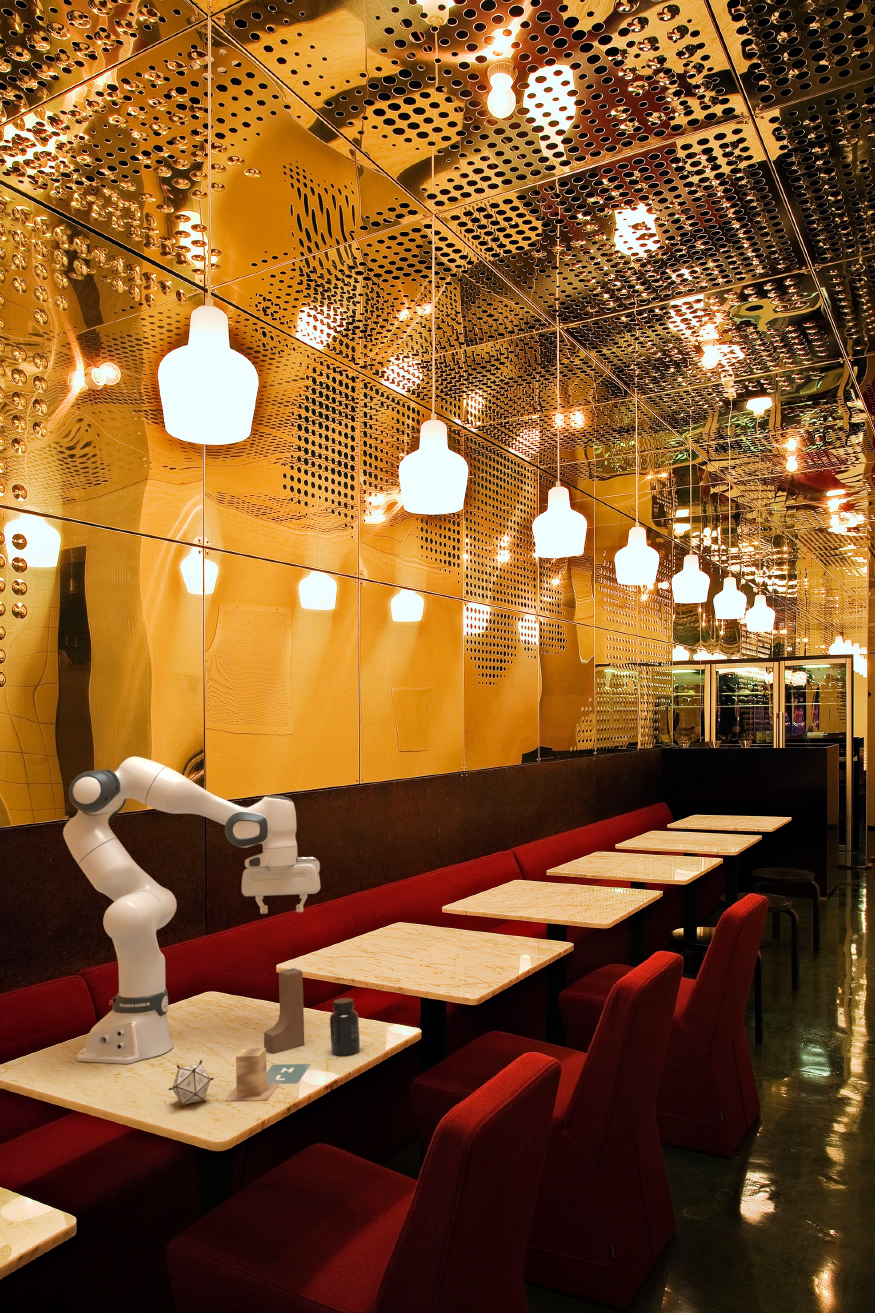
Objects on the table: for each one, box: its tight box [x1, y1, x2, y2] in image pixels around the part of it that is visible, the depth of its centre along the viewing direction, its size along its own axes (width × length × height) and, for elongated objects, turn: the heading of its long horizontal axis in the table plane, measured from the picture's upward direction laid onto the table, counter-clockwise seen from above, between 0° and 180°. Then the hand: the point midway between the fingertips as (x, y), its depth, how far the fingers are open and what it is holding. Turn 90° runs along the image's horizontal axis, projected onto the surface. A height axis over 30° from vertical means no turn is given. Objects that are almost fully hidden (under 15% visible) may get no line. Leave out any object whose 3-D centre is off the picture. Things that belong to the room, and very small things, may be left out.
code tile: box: [267, 1063, 311, 1085], centre depth 195 cm, size 9×12×1 cm
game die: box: [167, 1059, 215, 1109], centre depth 181 cm, size 9×8×10 cm
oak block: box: [235, 1047, 268, 1096], centre depth 185 cm, size 5×5×8 cm
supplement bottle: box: [329, 997, 361, 1057], centre depth 208 cm, size 7×7×12 cm
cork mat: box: [224, 1084, 280, 1103], centre depth 184 cm, size 9×9×1 cm
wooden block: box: [263, 967, 305, 1055], centre depth 214 cm, size 9×4×18 cm, turn 129°
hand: (281, 912), depth 225 cm, fingers open, 8 cm apart
